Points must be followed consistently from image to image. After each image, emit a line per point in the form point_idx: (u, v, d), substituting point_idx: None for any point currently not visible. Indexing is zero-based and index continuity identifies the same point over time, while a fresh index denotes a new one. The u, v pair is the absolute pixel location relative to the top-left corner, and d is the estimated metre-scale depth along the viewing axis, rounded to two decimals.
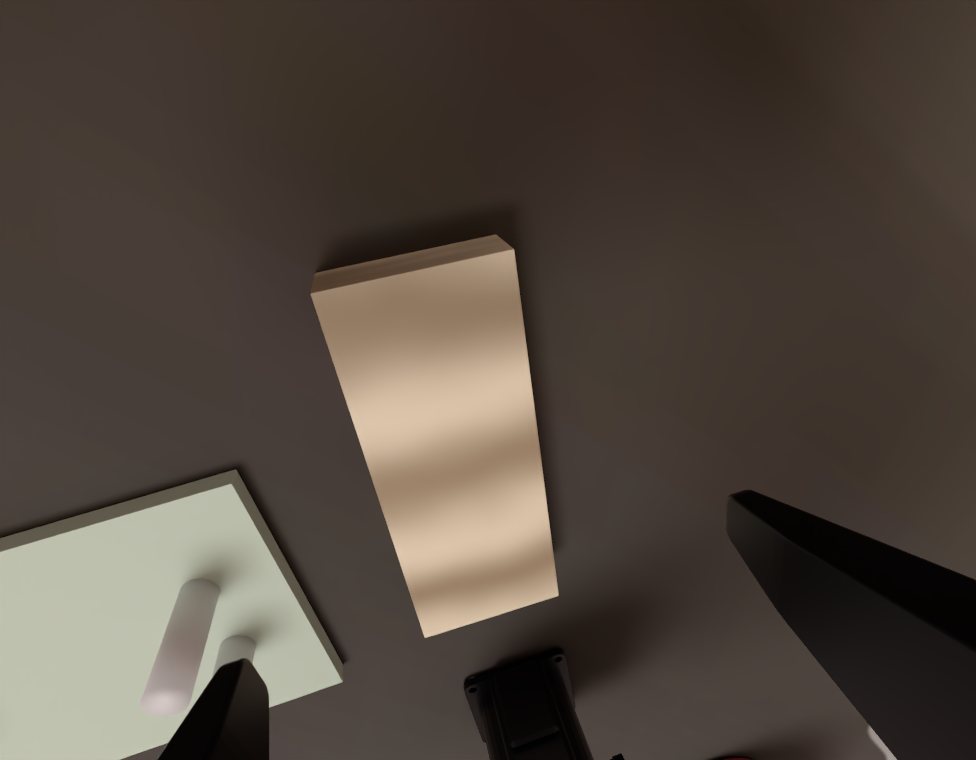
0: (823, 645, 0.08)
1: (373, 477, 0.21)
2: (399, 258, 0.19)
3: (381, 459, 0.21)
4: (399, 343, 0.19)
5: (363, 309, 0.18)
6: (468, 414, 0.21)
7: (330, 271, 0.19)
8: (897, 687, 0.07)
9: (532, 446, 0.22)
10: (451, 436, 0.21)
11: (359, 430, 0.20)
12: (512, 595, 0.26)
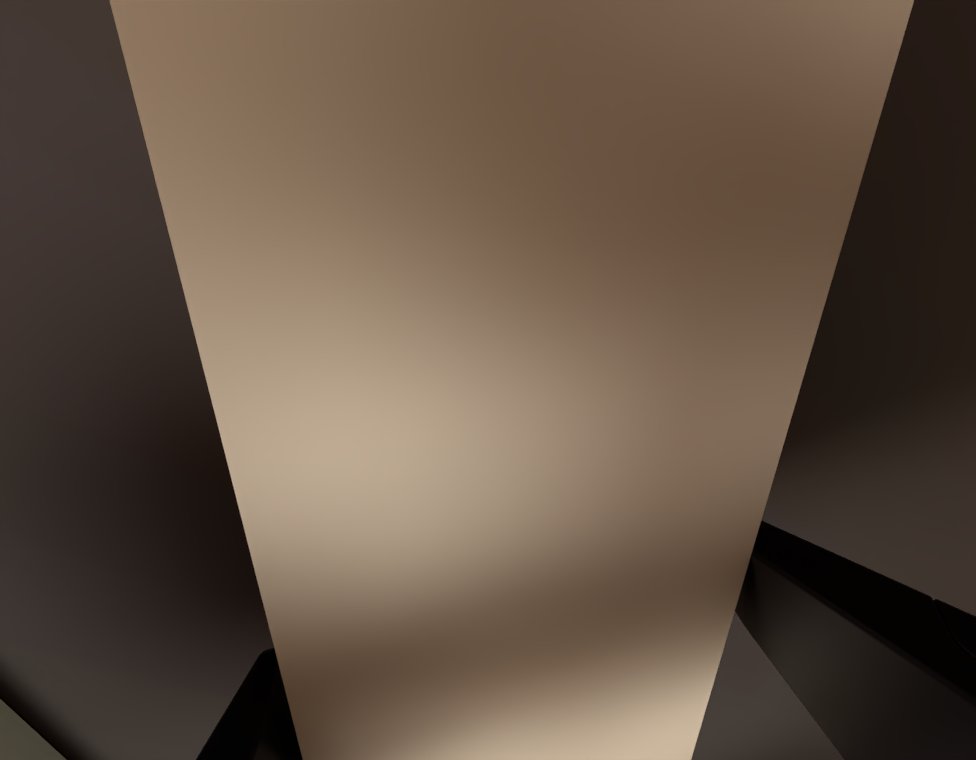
0: (785, 659, 0.08)
1: (283, 662, 0.07)
2: None
3: (316, 612, 0.07)
4: (450, 234, 0.05)
5: (333, 41, 0.04)
6: (597, 508, 0.07)
7: None
8: (854, 704, 0.07)
9: (722, 600, 0.08)
10: (535, 564, 0.07)
11: (255, 523, 0.06)
12: None
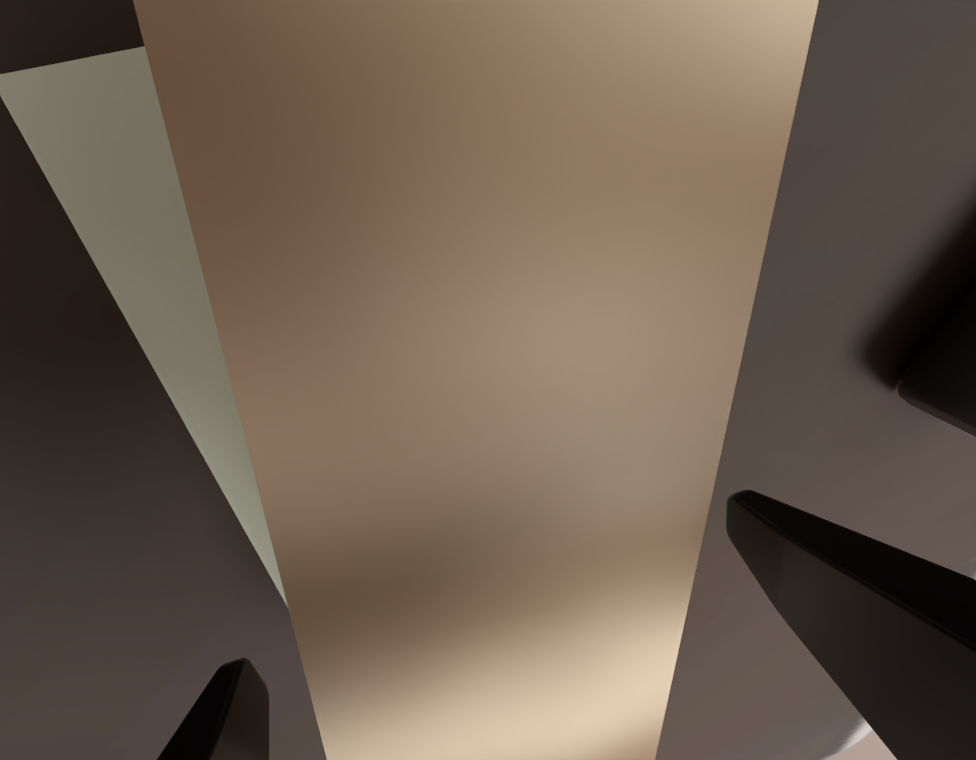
0: (823, 645, 0.08)
1: (291, 597, 0.08)
2: None
3: (317, 551, 0.07)
4: (423, 213, 0.06)
5: (320, 50, 0.05)
6: (566, 458, 0.08)
7: None
8: (897, 687, 0.07)
9: (686, 547, 0.09)
10: (512, 509, 0.08)
11: (263, 468, 0.07)
12: None
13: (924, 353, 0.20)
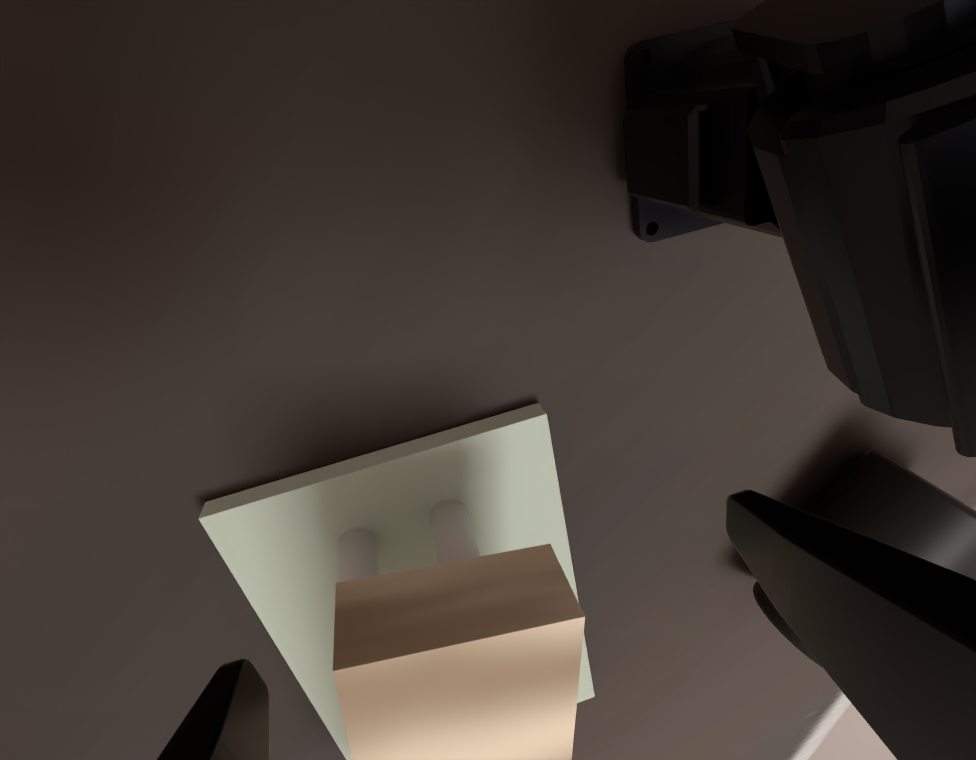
0: (823, 645, 0.08)
1: None
2: (441, 587, 0.16)
3: None
4: (431, 707, 0.15)
5: (395, 680, 0.14)
6: None
7: (355, 596, 0.16)
8: (897, 687, 0.07)
9: None
10: None
11: None
12: None
13: None
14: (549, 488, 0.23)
